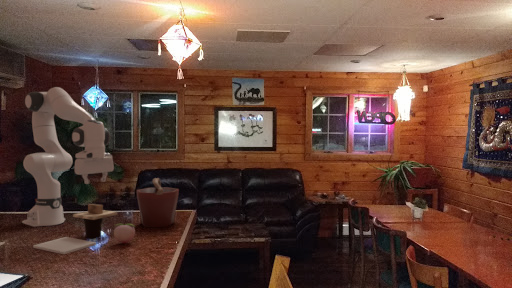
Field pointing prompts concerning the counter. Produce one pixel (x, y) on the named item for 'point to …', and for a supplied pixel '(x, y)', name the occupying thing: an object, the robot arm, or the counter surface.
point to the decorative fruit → (124, 232)
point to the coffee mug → (93, 228)
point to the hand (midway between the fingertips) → (95, 182)
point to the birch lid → (95, 212)
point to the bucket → (157, 205)
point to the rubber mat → (64, 245)
